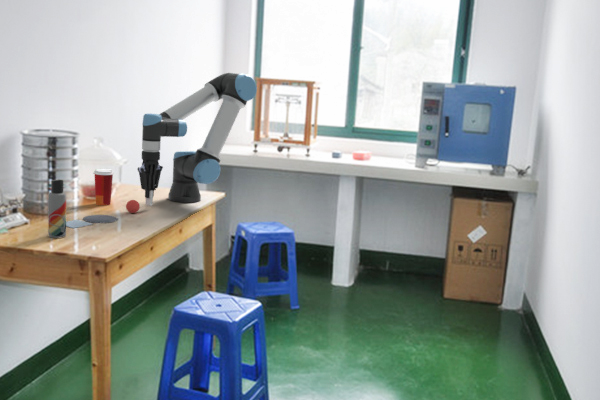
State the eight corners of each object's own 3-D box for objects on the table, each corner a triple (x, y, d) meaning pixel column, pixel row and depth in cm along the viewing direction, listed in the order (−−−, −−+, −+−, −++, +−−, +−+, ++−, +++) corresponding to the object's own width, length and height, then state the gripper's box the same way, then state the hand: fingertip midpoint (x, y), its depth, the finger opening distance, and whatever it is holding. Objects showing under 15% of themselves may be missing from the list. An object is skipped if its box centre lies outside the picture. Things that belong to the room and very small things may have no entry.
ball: (132, 210, 255) (133, 198, 254) (142, 213, 252) (142, 200, 251) (122, 212, 250) (123, 199, 249) (132, 215, 247) (132, 202, 246)
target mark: (102, 213, 245) (102, 213, 245) (124, 219, 239) (124, 219, 239) (75, 218, 234) (75, 218, 234) (98, 224, 228) (98, 224, 228)
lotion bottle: (57, 239, 205) (58, 181, 202) (44, 236, 207) (44, 179, 203) (69, 235, 211) (70, 179, 207) (56, 232, 213) (56, 177, 209)
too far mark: (77, 220, 232) (77, 219, 232) (93, 224, 228) (93, 223, 228) (57, 223, 225) (57, 223, 225) (73, 228, 220) (73, 227, 220)
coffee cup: (112, 202, 268) (113, 169, 265) (113, 206, 260) (113, 172, 257) (92, 201, 265) (93, 168, 262) (92, 206, 257) (93, 171, 254)
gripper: (155, 148, 261) (153, 201, 266) (133, 150, 250) (131, 205, 255) (168, 150, 258) (166, 204, 262) (146, 152, 247) (144, 208, 251)
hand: (148, 205), depth 259 cm, fingers closed
